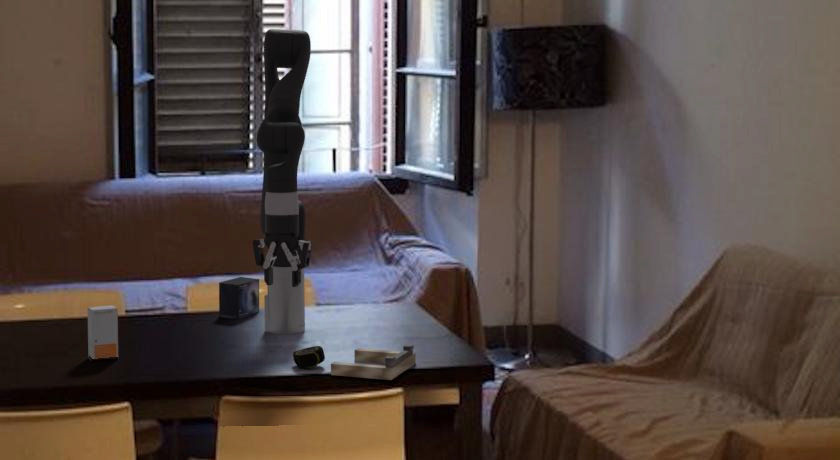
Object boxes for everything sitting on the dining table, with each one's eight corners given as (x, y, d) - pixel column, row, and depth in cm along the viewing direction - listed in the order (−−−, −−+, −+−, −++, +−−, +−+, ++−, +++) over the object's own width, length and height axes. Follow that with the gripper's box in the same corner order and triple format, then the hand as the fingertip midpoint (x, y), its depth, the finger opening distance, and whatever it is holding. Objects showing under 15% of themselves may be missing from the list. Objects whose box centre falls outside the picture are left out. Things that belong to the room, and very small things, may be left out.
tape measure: (324, 357, 293) (320, 342, 292) (327, 365, 286) (323, 349, 285) (295, 365, 292) (291, 350, 291) (297, 374, 285) (293, 358, 284)
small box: (239, 324, 336) (238, 284, 334) (217, 321, 338) (217, 282, 337) (261, 316, 345) (260, 278, 344) (240, 314, 348) (239, 276, 346)
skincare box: (92, 362, 293) (91, 310, 292) (88, 358, 297) (86, 306, 296) (119, 359, 296) (117, 307, 295) (114, 355, 300) (113, 304, 298)
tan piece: (330, 374, 282) (330, 354, 282) (357, 358, 297) (357, 339, 297) (391, 380, 278) (391, 359, 277) (415, 363, 293) (415, 344, 292)
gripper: (245, 212, 289) (246, 286, 291) (304, 214, 284) (305, 290, 286) (259, 208, 296) (261, 281, 298) (318, 211, 291) (318, 284, 293)
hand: (282, 285), depth 292 cm, fingers open, 5 cm apart
